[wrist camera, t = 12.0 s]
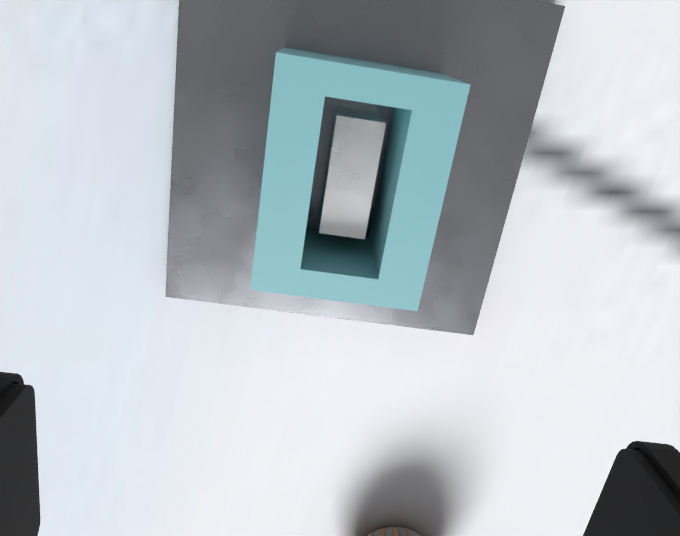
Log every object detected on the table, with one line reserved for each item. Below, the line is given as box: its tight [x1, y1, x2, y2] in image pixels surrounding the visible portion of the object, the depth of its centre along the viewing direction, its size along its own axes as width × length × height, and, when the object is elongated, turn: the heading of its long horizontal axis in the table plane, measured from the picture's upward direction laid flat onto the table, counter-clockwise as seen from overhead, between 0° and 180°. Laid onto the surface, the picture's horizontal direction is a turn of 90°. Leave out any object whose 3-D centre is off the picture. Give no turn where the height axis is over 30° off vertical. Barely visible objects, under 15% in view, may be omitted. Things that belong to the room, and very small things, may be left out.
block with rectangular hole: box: [250, 47, 470, 311], centre depth 25 cm, size 9×7×5 cm
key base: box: [166, 0, 565, 335], centre depth 26 cm, size 16×16×4 cm
